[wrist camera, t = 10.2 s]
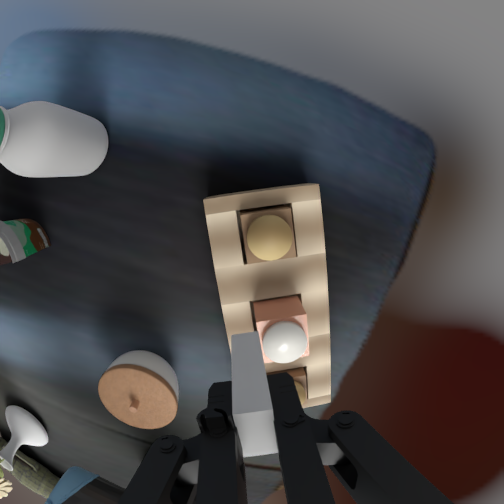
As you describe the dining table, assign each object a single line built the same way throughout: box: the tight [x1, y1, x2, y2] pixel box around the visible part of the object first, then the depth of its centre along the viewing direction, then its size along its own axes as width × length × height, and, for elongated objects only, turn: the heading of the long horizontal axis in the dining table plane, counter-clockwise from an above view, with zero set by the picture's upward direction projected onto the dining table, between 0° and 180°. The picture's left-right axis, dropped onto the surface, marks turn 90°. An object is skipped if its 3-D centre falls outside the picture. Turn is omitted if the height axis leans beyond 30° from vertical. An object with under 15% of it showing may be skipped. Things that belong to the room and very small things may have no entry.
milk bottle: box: [0, 101, 108, 177], centre depth 23 cm, size 8×8×20 cm
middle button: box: [253, 296, 309, 363], centre depth 32 cm, size 5×5×6 cm
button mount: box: [203, 183, 331, 408], centre depth 37 cm, size 29×12×5 cm, turn 8°
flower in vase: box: [0, 405, 48, 499], centre depth 31 cm, size 13×11×25 cm
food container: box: [0, 219, 51, 265], centre depth 30 cm, size 12×6×10 cm, turn 101°
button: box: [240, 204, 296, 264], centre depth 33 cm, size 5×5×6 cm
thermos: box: [0, 437, 60, 499], centre depth 44 cm, size 9×12×35 cm
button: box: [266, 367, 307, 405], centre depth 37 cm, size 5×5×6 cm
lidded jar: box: [98, 350, 179, 429], centre depth 36 cm, size 11×11×9 cm
